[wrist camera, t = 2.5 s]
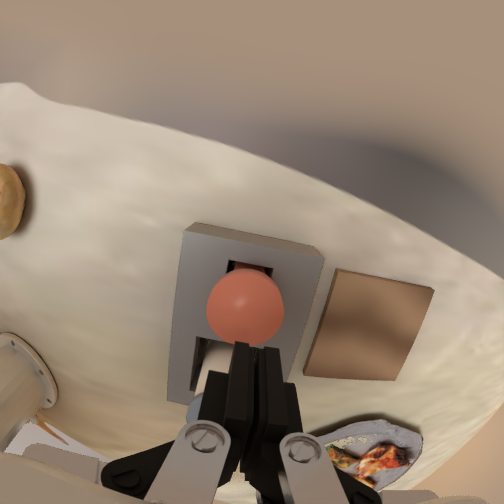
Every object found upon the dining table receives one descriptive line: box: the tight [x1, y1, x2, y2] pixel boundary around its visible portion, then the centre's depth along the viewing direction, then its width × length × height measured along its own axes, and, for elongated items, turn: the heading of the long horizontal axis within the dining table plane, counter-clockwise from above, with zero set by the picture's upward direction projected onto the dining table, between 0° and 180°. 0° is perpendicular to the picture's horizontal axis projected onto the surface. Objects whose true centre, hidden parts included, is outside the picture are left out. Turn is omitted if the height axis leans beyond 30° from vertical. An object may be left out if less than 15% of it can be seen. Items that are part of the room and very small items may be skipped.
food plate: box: [317, 419, 423, 492], centre depth 30 cm, size 25×23×4 cm
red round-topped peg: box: [206, 261, 284, 346], centre depth 19 cm, size 4×4×7 cm
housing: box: [167, 222, 324, 406], centre depth 24 cm, size 16×10×4 cm, turn 168°
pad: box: [303, 269, 435, 381], centre depth 25 cm, size 11×11×1 cm
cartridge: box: [186, 339, 254, 423], centre depth 21 cm, size 5×5×10 cm
